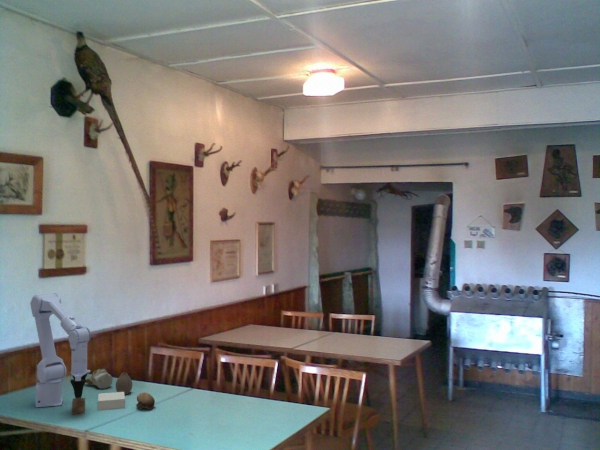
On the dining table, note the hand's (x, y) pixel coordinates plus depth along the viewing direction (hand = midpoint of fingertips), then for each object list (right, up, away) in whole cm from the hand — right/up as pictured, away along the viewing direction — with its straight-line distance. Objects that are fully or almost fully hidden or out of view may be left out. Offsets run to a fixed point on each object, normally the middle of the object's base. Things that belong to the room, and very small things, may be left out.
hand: (78, 394), depth 224 cm
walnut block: (0, -7, 0) cm, 7 cm away
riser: (+9, -7, +9) cm, 15 cm away
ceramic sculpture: (-4, -7, +36) cm, 37 cm away
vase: (+10, -7, +25) cm, 28 cm away
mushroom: (+24, -7, +7) cm, 26 cm away
